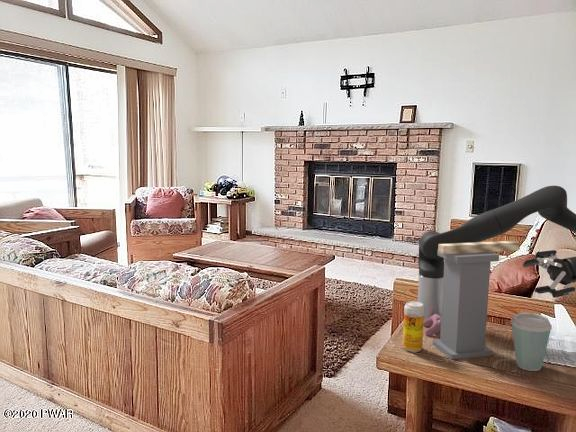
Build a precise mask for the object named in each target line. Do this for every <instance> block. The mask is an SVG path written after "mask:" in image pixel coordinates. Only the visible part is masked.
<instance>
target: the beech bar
mask: <svg viewBox="0 0 576 432" xmlns="http://www.w3.org/2000/svg"><path fill="white" fill-rule="evenodd" d="M519 250H520V242H518V241H515V240H502V241H500V240H499V241H481V242H474V243H452V244H438V252H439V253H442V254H458V253H478V252H492V253H495V252H496V253H498V252H516V251H519Z"/></svg>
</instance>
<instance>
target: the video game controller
mask: <svg viewBox="0 0 576 432" xmlns="http://www.w3.org/2000/svg"><path fill="white" fill-rule="evenodd" d="M423 327H425V328H427V327H429V328H427V329H426V330H425V331H424V334H425V336H427V337H429V336H431V337H432V336H434V335H436V334H437V333H439V332H441V316H439V315H436V314H434V315H432V316H431V317H430V318H428V319H427V320H425V321H424V326H423Z"/></svg>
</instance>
